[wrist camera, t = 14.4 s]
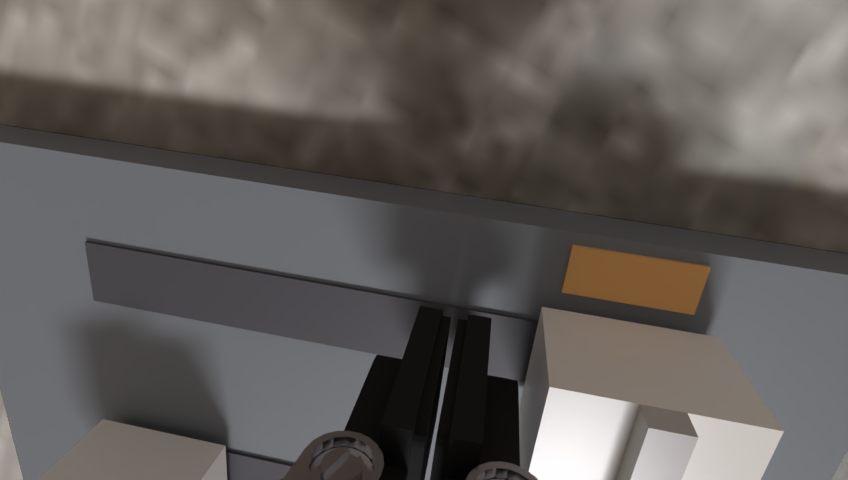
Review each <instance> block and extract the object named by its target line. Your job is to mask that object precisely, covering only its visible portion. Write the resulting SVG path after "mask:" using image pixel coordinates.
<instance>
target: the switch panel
mask: <svg viewBox="0 0 848 480" xmlns="http://www.w3.org/2000/svg"><path fill="white" fill-rule="evenodd" d="M420 306H425V307H431V308H437V309H443V316H447V317H451V323H450V330H449V337H448V344H447V350H446V357H445V364H444V371H443V378H442V384H441V391H440V398H439V405H438V412H437V418H436V423H435V429H434V434H433V439H432V444H431V449H430V454H429V459H428V465H427V470H426V475H425V480H430V476H431V469H432V462H433V456H434V449H435V443H436V436H437V430H438V425H439V419H440V414H441V409H442V403H443V398H444V392H445V387H446V382H447V376H448V371H449V365H450V360H451V355H452V349H453V344H454V338H455V333H456V328H457V322H458V319H464V320H467V319H468V314H471V315H477V316H483V317H489V318H491V333H490V348H489V362H488V375H491V376H496V377H502V378H507V379H512V380H517V381H518V392H519V406H520V401H521V397H522V392H523V388H524V384H525V379H526V375H527V370H528V366H529V361H530V357H531V352H532V348H533V343H534V339H535V334H536V330H537V326H538V321H539V317H540V312H541V308H542V307H547V308H553V309H558V310H564V311H570V312H576V313H582V314H587V315H593V316H599V317H605V318H610V319H616V320H622V321H628V322H633V323H639V324H645V325H651V326H656V327H662V328H668V329H674V330H680V331H685V332H691V333H697V334H703V335H708V336H714V337H720V338H721V339H722V340H723V342H724V343H725V345H726V346H727V348H728V349H729V351H730V352H731V354H732V355H733V357H734V358H735V360H736V361H737V363H738V364H739V366H740V367H741V369H742V370H743V371H744V373H745V374H746V376H747V377H748V379H749V380H750V382H751V383H752V385H753V386H754V388H755V389H756V391H757V392H758V394H759V395H760V397H761V398H762V400H763V401H764V403H765V404H766V406H767V407H768V408H769V410H770V411H771V413H772V414H773V416H774V417H775V419H776V420H777V422H778V423H779V425H780V426H781V428H782V429H783V431H784V432H783V435H782V437H781V439H780V441H779V443H778V445H777V447H776V449H775V451H774V453H773V455H772V457H771V459H770V462H769V464H768V466H767V468H766V470H765V472H764V474H763V476H762V478H761V480H831V479H832V477H833V475H834V474H835V472H836V470H837V468H838V466H839V465H840V463H841V461H842V459H843V457H844V455H845V454H846V452H847V450H848V254H845V253H838V252H832V251H825V250H818V249H812V248H805V247H799V246H792V245H786V244H779V243H773V242H766V241H759V240H753V239H746V238H740V237H733V236H727V235H720V234H714V233H707V232H701V231H694V230H687V229H681V228H674V227H668V226H661V225H655V224H648V223H642V222H635V221H628V220H622V219H615V218H609V217H602V216H596V215H589V214H583V213H576V212H570V211H563V210H556V209H550V208H543V207H537V206H530V205H524V204H517V203H511V202H504V201H497V200H491V199H484V198H478V197H471V196H465V195H458V194H452V193H445V192H438V191H432V190H425V189H419V188H412V187H406V186H399V185H393V184H386V183H380V182H373V181H366V180H360V179H353V178H347V177H340V176H334V175H327V174H321V173H314V172H307V171H301V170H294V169H288V168H281V167H275V166H268V165H262V164H255V163H248V162H242V161H235V160H229V159H222V158H216V157H209V156H203V155H196V154H190V153H183V152H176V151H170V150H163V149H157V148H150V147H144V146H137V145H131V144H124V143H117V142H111V141H104V140H98V139H91V138H85V137H78V136H72V135H65V134H59V133H52V132H45V131H39V130H32V129H26V128H19V127H13V126H6V125H0V390H1V394H2V397H3V401H4V405H5V409H6V413H7V417H8V421H9V425H10V429H11V433H12V437H13V441H14V444H15V448H16V452H17V456H18V460H19V464H20V468H21V472H22V476H23V480H38V479H39V478H40V477H41V476H42V475H43V474H44V473H45V472H47V471H48V470H49V469H50V468H51V467H52V466H53V465H54V464H55V463H56V462H57V461H58V460H59V459H60V458H62V457H63V456H64V455H65V454H66V453H67V452H68V451H69V450H70V449H71V448H72V447H73V446H74V445H75V444H76V443H78V442H79V441H80V440H81V439H82V438H83V437H84V436H85V435H86V434H87V433H88V432H89V431H90V430H91V429H93V428H94V427H95V426H96V425H97V424H98V423H99V422H100V421H101V420H102V419H105V420H110V421H114V422H119V423H124V424H128V425H133V426H137V427H142V428H147V429H151V430H156V431H160V432H165V433H170V434H174V435H179V436H184V437H188V438H193V439H197V440H202V441H207V442H211V443H216V444H220V445H225V446H226V465H227V480H281V479H283V478H284V477H285V475H286V474H287V473H288V471H289V470H290V468H291V467H292V466H293V464H294V463H295V461H296V460H297V459H298V457H299V456H300V455H301V453H302V452H303V450H304V449H305V448H306V447H307V446H308V445H309V444H310V443H311V442H312V441H313V440H314V439H316V438H318V437H320V436H321V435H323V434H326V433H330V432H334V431H344V430H345V427H346V425H347V422H348V420H349V418H350V415H351V413H352V410H353V408H354V406H355V403H356V401H357V399H358V396H359V394H360V391H361V389H362V387H363V384H364V382H365V380H366V377H367V375H368V372H369V370H370V368H371V365H372V363H373V361H374V358H375V357H376V355H382V356H388V357H393V358H399V359H402V358H403V355H404V352H405V349H406V346H407V343H408V340H409V337H410V334H411V331H412V328H413V325H414V322H415V319H416V316H417V313H418V310H419V308H420Z"/></svg>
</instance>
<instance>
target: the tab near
mask: <svg viewBox="0 0 848 480" xmlns="http://www.w3.org/2000/svg"><path fill="white" fill-rule="evenodd" d="M783 432H784V431H783V429H782V428H781V426H780V425H779V423H778V422H777V420H776V419H775V417H774V416H773V414H772V413H771V411H770V410H769V408H768V407H767V406H766V404H765V403H764V401H763V400H762V398H761V397H760V395H759V394H758V392H757V391H756V389H755V388H754V386H753V385H752V383H751V382H750V380H749V379H748V377H747V376H746V374H745V373H744V371H743V370H742V369H741V367H740V366H739V364H738V363H737V361H736V360H735V358H734V357H733V355H732V354H731V352H730V351H729V349H728V348H727V346H726V345H725V343H724V342H723V340H722V339H721V338H720V337H714V336H708V335H703V334H697V333H691V332H685V331H680V330H674V329H668V328H662V327H656V326H651V325H645V324H639V323H633V322H628V321H622V320H616V319H610V318H605V317H599V316H593V315H587V314H582V313H576V312H570V311H564V310H558V309H553V308H547V307H542V308H541V312H540V317H539V321H538V326H537V330H536V334H535V339H534V343H533V348H532V352H531V357H530V361H529V366H528V370H527V375H526V379H525V384H524V388H523V392H522V397H521V401H520V406H519V443H520V467H521V468H524V469H526V470H527V471H528V472H530V473H531V474H532V475H534V476H535V477H536V478H537V479H538V480H761V478H762V476H763V474H764V472H765V470H766V468H767V466H768V464H769V462H770V459H771V457H772V455H773V453H774V451H775V449H776V447H777V445H778V443H779V441H780V439H781V437H782V435H783Z"/></svg>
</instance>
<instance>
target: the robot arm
mask: <svg viewBox="0 0 848 480" xmlns="http://www.w3.org/2000/svg"><path fill="white" fill-rule="evenodd" d="M450 323H451V317H447V316H443V309H437V308H431V307H425V306H420V308H419V310H418V313H417V316H416V319H415V322H414V325H413V328H412V331H411V334H410V337H409V340H408V343H407V346H406V349H405V352H404V355H403V358H402V359H399V358H393V357H388V356H382V355H376V357H375V358H374V361H373V363H372V365H371V368H370V370H369V372H368V375H367V377H366V380H365V382H364V384H363V387H362V389H361V391H360V394H359V396H358V399H357V401H356V403H355V406H354V408H353V410H352V413H351V415H350V418H349V420H348V422H347V425H346V427H345V430H344V431H334V432H330V433H326V434H323V435H321V436H320V437H318V438H316V439H314V440H313V441H312V442H311V443H310V444H309V445H308V446H307V447H306V448H305V449H304V450H303V452H302V453H301V455H300V456H299V457H298V459H297V460H296V461H295V463H294V464H293V466H292V467H291V468H290V470H289V471H288V473H287V474H286V475H285V477H284V478H283V479H281V480H425V475H426V470H427V465H428V459H429V454H430V449H431V444H432V439H433V434H434V429H435V423H436V418H437V412H438V405H439V398H440V391H441V384H442V378H443V371H444V364H445V357H446V350H447V344H448V337H449V330H450ZM490 333H491V318H489V317H483V316H477V315H471V314H468V319H467V320H464V319H458V322H457V328H456V333H455V338H454V344H453V349H452V355H451V360H450V365H449V371H448V376H447V382H446V387H445V392H444V398H443V403H442V409H441V414H440V419H439V425H438V430H437V436H436V443H435V449H434V456H433V462H432V469H431V476H430V480H538V479H537V478H536V477H535V476H534V475H532V474H531V473H530V472H528V471H527V470H526V469H524V468H521V467H520V443H519V392H518V381H517V380H512V379H507V378H502V377H496V376H491V375H488V362H489V348H490Z"/></svg>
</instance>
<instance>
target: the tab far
mask: <svg viewBox="0 0 848 480" xmlns="http://www.w3.org/2000/svg"><path fill="white" fill-rule="evenodd" d="M38 480H227V465H226V446H225V445H220V444H216V443H211V442H207V441H202V440H197V439H193V438H188V437H184V436H179V435H174V434H170V433H165V432H160V431H156V430H151V429H147V428H142V427H137V426H133V425H128V424H124V423H119V422H114V421H110V420H105V419H102V420H101V421H100V422H99V423H98V424H97V425H96V426H95V427H94V428H93V429H91V430H90V431H89V432H88V433H87V434H86V435H85V436H84V437H83V438H82V439H81V440H80V441H79V442H78V443H76V444H75V445H74V446H73V447H72V448H71V449H70V450H69V451H68V452H67V453H66V454H65V455H64V456H63V457H62V458H60V459H59V460H58V461H57V462H56V463H55V464H54V465H53V466H52V467H51V468H50V469H49V470H48V471H47V472H45V473H44V474H43V475H42V476H41V477H40V478H39V479H38Z"/></svg>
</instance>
